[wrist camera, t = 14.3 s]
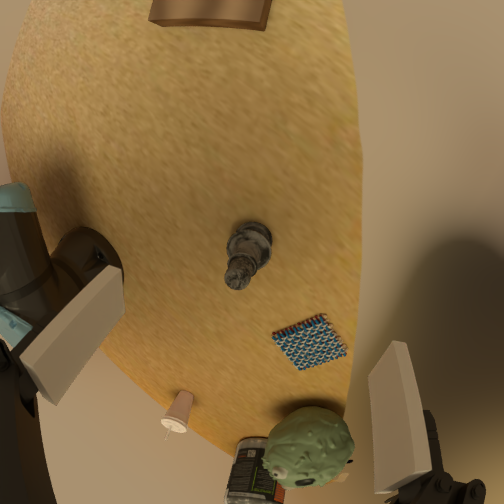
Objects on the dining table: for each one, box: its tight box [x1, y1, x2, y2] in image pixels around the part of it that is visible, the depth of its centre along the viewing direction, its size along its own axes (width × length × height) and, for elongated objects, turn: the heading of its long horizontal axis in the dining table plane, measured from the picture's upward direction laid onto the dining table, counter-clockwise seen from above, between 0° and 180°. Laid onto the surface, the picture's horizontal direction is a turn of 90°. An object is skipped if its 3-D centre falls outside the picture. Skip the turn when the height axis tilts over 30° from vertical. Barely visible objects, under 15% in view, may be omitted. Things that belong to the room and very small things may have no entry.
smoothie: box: [161, 391, 194, 441], centre depth 57 cm, size 6×6×14 cm
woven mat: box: [271, 314, 348, 370], centre depth 47 cm, size 10×11×2 cm
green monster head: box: [261, 406, 355, 490], centre depth 49 cm, size 16×19×20 cm
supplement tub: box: [224, 438, 285, 504], centre depth 59 cm, size 16×16×26 cm
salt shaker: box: [224, 222, 272, 290], centre depth 35 cm, size 6×6×12 cm
